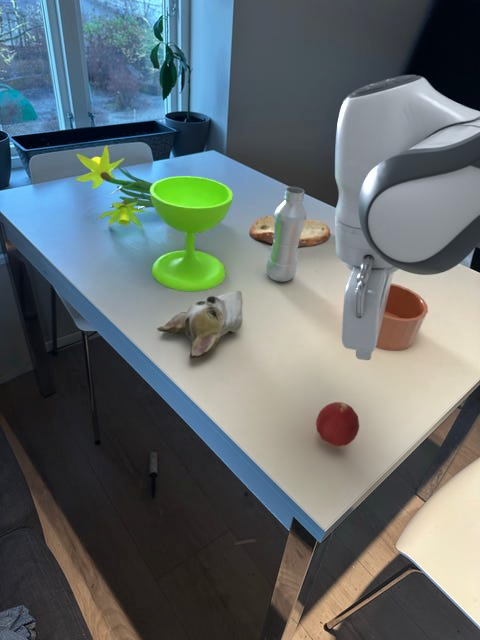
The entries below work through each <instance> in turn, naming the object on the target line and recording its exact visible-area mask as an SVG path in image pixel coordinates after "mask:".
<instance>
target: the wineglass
mask: <svg viewBox="0 0 480 640" xmlns="http://www.w3.org/2000/svg"><path fill="white" fill-rule="evenodd" d="M152 183H153V184H152V186H151V187H150V194H149V195H150V196H151V201H152V203H153V205H154V210H155V212H156V214H157V215H158V217H159V218H160V219H161V220H162V221H163V222H164V223H165V224H166V225H167V226H169V227H171V228H172V229H174V230H177V232H181V233H185V242H184V243H185V244H184V245H185V246H184V248H185V249H181V250H175V251H170V252H167V253H165V254H163V255H161V256H159V257H158V258H157V259H156V260H155V261H154V263H153V265H152V267H151V274H152V277H153V279H155V280H156V281H157V282H158V283H159V284H161V285H162V286H164V287H166V288H169V289H172V290H176V291H180V292H181V291H182V292H201V291H207V290H209V289H213V288H215V287H216V286H218V285H221V283H222V282H223V281H224V280H225V278H226V269H225V266H224V264H223V263H222V262H221V261H220V260H219V259H218V258H217V257H215V256H213V255H211V254H209V253H206V252H203V251H200V250H199V251H198V250H195V247H196V246H195V243H196V234H199V233H200V234H201V233H204V232H206V231H209V230H211V229H213V228H215V227H217V225H218V224H220V223H221V222H222V221H223V220H224V219H225V217H226V216H227V214H228V213H229V210H230V208H231V205H232V201H233V198H234V194H233V191H232V189H230V187H229V186H227V185H225V184H224V183H223V182H219V181H217V180H215V179H210V178H207V177H201V176H194V175H177V176H175V175H174V176H169V177H165V178H161V179H159V180H157V181H154V182H152Z"/></svg>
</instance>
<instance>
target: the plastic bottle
mask: <svg viewBox="0 0 480 640" xmlns="http://www.w3.org/2000/svg"><path fill="white" fill-rule="evenodd" d="M304 196H305V190H304V189H303V188H301V187H298V186H288V187H286V189H285V193H284V195H283V199H284V201H282V202H281V203H280V204H279V206H277V207H276V209H275V212H274V239H273V244H272V246H271V250H270V254H269V257H268V259H267V262H266V274H267V275H268V277H269V279H272V280H274V281H276V282H288V281H290V280H292V278H294V277H295V275H296V272H297V269H298V267H297V266H298V260H297V258H298V249H299V247H298V244H299V240H300V236H301V233H302V230H303V227H304V224H305V221H306V219H307V212H306V210H305V206H304V205H303V202H304V199H305V197H304Z"/></svg>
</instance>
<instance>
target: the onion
mask: <svg viewBox="0 0 480 640" xmlns="http://www.w3.org/2000/svg"><path fill="white" fill-rule="evenodd" d="M315 427H316V431H317V433H318V435H319V437H320V439H322V440H323V441H324V442H325V443H327V444H329V445H331V446H335V447H343V446H347V445H350V444H351V443H352V442H354V440H355V439H356V438H357V436H358V433H359V431H360V421H359V416H358V414H357V412H356V411H355V410H354V408H353V407H352V406H350V405H349V404H347V403H345V402H342V401H333V402H331V403H328V404H325V406H324V407H323V408H321V410H320V411H319V413H318V414H317V417H316V421H315Z"/></svg>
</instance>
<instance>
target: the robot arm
mask: <svg viewBox="0 0 480 640" xmlns="http://www.w3.org/2000/svg"><path fill="white" fill-rule="evenodd" d="M337 118H338V119H337V125H336V132H335V133H336V134H335V149H334V150H335V152H334V179H335V182H336V185H337V190H338V200H337V204H336V207H335V214H334V217H335V218H334V220H335V222H334V224H335V225H334V229H335V232H334V233H335V234H334V235H335V238H334V239H335V241H334V242H335V244H334V245H335V246H334V247H335V248H334V249H335V254H336V257H337V258H338V259H339V260H341V262H343V263H345V265H346V267H347V268H348V270H349V271H351V273H350V276H349V278H348V281H347V283H346V287H345V290H344V298H343V307H342V325H341V326H342V327H341V343H342V346H343V347H344V348H345V349H347V350H354V351H355V357H356V359H358V360H363V361H370V360H371V359H372V355H373V352H374V351H375V350H376V348H377V347H376V345H377V341H378V337H379V332H380V328H381V324H382V320H383V315H384V311H385V307H386V303H387V298H388V294H389V290H390V286H391V283H392V281H393V277H394V273H395V272H397V271H399V270H401V271H403V272H406V273H408V274H409V273H410V274H414V275H419V276H420V275H421V276H433V275H438V274H441V273H445V272H447V271H450V270H452V269H453V268H455V267H457V266H458V265H459V264H460V263H462V262H463V261H464V260H465V259H466V258H467V257H468V256H469V255H470V254H471V253H472V252H473V251H474V250H475V249H476V248H477V246H478V245H480V111H479V110H476V109H473V108H470V107H468V106H466V105H464V104H461V103H458V102H456V101H454V100H452V99H450V98H448V97H447V96H445V95H443V94H442V93H441V92H439V91H438V90H436V89H435V88H434V87H433V86H432V85H431V83H429V81H428V79H426V78H425V77H424V76H421V75H416V74H403V75H398V76H393V77H389V78H386V79H385V78H384V79H382V80H379V81H376V82H374V83H369V84H366V85H364V86H361V87H359V88H357V89H355V90H353V91H351V92H350V93H349V94H348V95H347V97H345V99H343V102H342V104H341V107H340V109H339V113H338V117H337Z"/></svg>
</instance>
